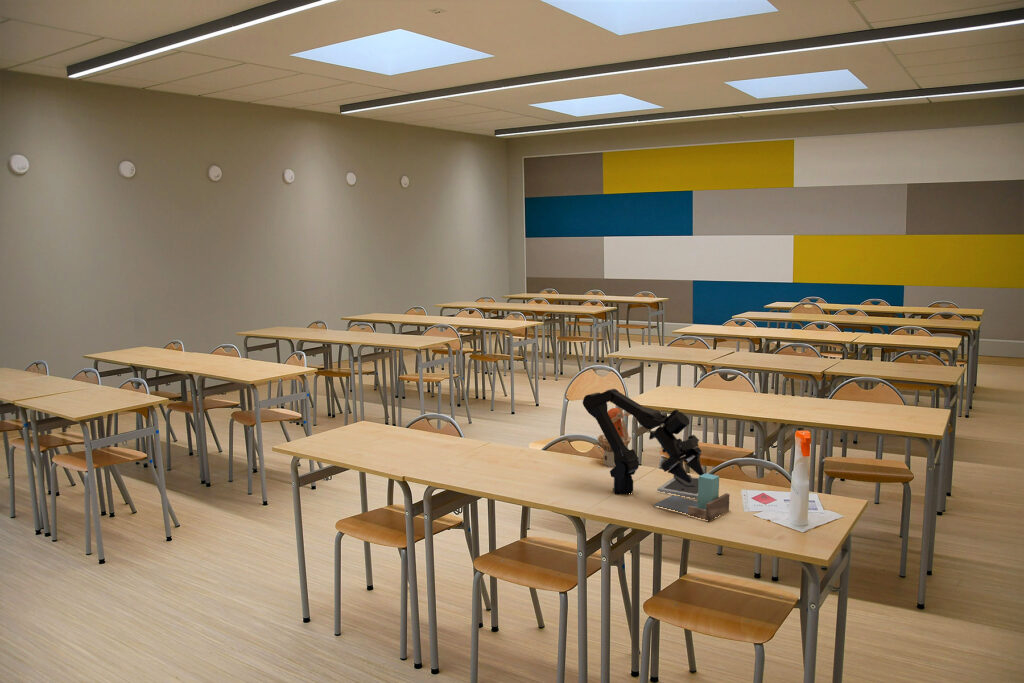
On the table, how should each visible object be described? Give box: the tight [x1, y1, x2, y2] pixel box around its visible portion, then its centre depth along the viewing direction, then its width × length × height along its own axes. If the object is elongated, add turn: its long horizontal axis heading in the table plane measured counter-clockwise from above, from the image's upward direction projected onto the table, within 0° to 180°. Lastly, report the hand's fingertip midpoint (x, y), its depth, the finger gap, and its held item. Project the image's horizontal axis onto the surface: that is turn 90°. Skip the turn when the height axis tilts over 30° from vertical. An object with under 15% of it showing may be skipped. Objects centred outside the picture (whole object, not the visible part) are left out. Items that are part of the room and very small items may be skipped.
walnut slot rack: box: [688, 492, 730, 522], centre depth 261 cm, size 8×14×6 cm, turn 139°
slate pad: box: [653, 495, 698, 514], centre depth 269 cm, size 13×13×1 cm
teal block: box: [697, 472, 720, 510], centre depth 261 cm, size 5×5×13 cm
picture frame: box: [657, 474, 699, 500], centre depth 289 cm, size 16×3×21 cm
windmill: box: [597, 407, 632, 468], centre depth 317 cm, size 17×14×30 cm
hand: (697, 479), depth 264 cm, fingers open, 9 cm apart
